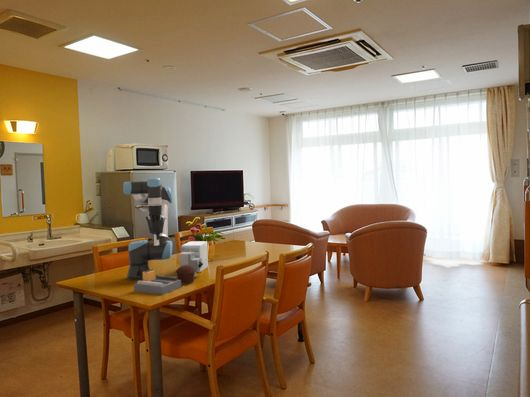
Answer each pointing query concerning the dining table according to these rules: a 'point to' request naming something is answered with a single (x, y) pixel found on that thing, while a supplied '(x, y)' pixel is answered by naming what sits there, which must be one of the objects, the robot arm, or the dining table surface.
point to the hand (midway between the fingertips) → (156, 245)
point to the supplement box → (197, 251)
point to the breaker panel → (156, 288)
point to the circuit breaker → (190, 260)
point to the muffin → (185, 274)
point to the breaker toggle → (149, 275)
